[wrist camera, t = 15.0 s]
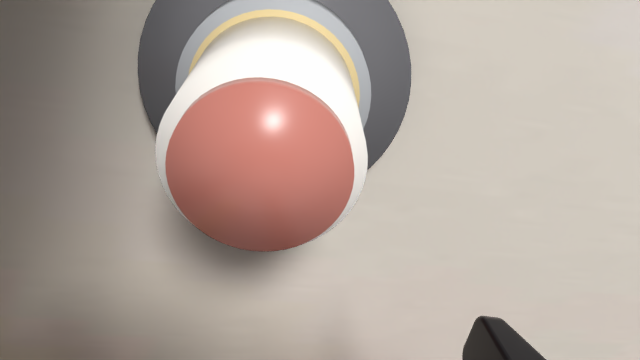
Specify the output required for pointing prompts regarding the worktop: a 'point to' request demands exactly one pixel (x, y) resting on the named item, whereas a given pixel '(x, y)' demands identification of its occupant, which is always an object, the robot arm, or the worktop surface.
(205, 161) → the cap
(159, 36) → the seat
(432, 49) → the worktop surface
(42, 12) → the worktop surface
